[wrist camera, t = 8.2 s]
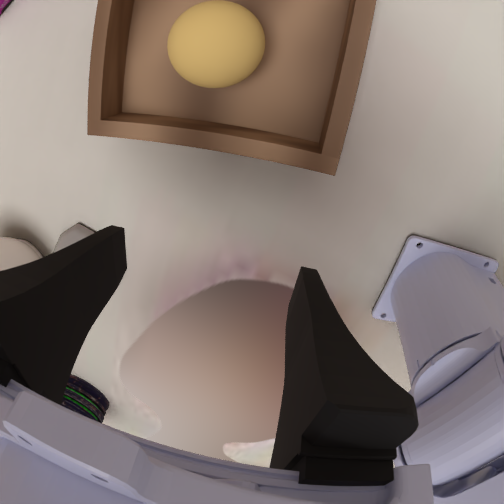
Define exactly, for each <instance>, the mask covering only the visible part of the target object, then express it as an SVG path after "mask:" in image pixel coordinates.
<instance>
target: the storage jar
mask: <svg viewBox="0 0 504 504" xmlns="http://www.w3.org/2000/svg"><path fill="white" fill-rule="evenodd" d="M61 406H63V407H65V408H67V409H70V410H72V411H74V412H76V413H78V414H81V415H83V416H85V417H88V418H90V419H92V420H95V421H97V422H100V423H102V422H103V420H104V416H105V413H106V412H105V411H106V410H107V409H108V407H109V402H108V400H107V398H106V397H105V396H104V395H103V394H102V393H101V392H100V391H99V390H98V389H96V388H95V387H94V386H92V385H91V384H89V383H88V382H86V381H85V380H83V379H81V378H79V377H77V376H74V375H72V374H70V377H69V380H68V383H67V386H66V389H65V393H64V396H63V400H62V404H61Z"/></svg>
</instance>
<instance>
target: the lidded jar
mask: <svg viewBox="0 0 504 504" xmlns="http://www.w3.org/2000/svg"><path fill="white" fill-rule="evenodd" d="M40 258H43V256H42V255H41V253H40V252H39V251H38V250H37V248H35V247H34V246H33V245H32V244H31V243H29V242H28V241H26V240H23V239H15V238H10V237H0V271H2V270H6V269H10V268H13V267H17V266H20V265H23V264H27V263H30V262H32V261H35V260H38V259H40Z"/></svg>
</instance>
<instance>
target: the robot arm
mask: <svg viewBox="0 0 504 504" xmlns="http://www.w3.org/2000/svg"><path fill="white" fill-rule="evenodd" d="M419 242H421V244H420V245H419V246H417V244H418V243H419ZM486 262H487V263H486ZM485 263H486V264H485ZM498 266H499V264H498V262H497V260H495V259H492V258H489V257H485V256H482V255H479V254H476V253H473V252H469V251H466V250H463V249H460V248H456V247H453V246H450V245H446V244H443V243H439V242H436V241H433V240H429V239H426V238H422V237H418V236H410V237H409V238H408V239H407V241H406V243H405V245H404V248H403V250H402V252H401V254H400V256H399V259H398V261H397V263H396V265H395V267H394V269H393V271H392V273H391V275H390V277H389V279H388V281H387V283H386V285H385V287H384V289H383V291H382V293H381V295H380V297H379V299H378V301H377V303H376V305H375V307H374V309H373V310H372V316H373V317H374V318H376V319H381V320H387V321H393V322H396V323H397V327H398V331H399V335H400V339H401V343H402V347H403V351H404V356H405V360H406V365H407V369H408V374H409V379H410V384H411V390H410V391H409V392H407V391H405V390H404V389H403V388H402V387H400V386H399V385H398V384H397V383H396V382H394V381H393V380H392V379H391V378H390V377H389V376H388V375H387V374H386V373H385V372H384V371H383V370H382V369H381V368H380V367H379V366H378V365H377V364H376V363H375V362H374V361H373V360H372V359H371V358H370V357H369V356H368V354H367V353H366V352H365V351H364V350H363V349H362V347H361V346H360V345H359V344H358V342H357V341H356V339H355V338H354V337H353V335H352V334H351V333H350V331H349V330H348V328H347V327H346V325H345V324H344V322H343V320H342V319H341V317H340V315H339V313H338V312H337V310H336V308H335V306H334V304H333V302H332V300H331V299H330V297H329V295H328V293H327V290H326V288H325V286H324V284H323V282H322V280H321V277H320V275H319V273H318V271H317V270H315V269H311V268H306V267H301V269H300V272H299V275H298V278H297V281H296V284H295V288H294V291H293V294H292V297H291V300H290V303H289V307H288V315H287V321H286V337H285V338H286V339H285V340H286V341H285V342H286V343H285V379H284V390H283V396H282V404H281V409H280V417H279V422H278V428H277V433H276V438H275V444H274V449H273V454H272V458H271V463H270V468H267V467H260V466H254V465H248V464H242V463H236V462H231V461H226V460H221V459H216V458H212V457H207V456H203V455H199V454H195V453H191V452H187V451H183V450H179V449H176V448H172V447H169V446H166V445H162V444H159V443H155V442H152V441H149V440H146V439H143V438H140V437H137V436H134V435H131V434H129V433H126V432H123V431H120V430H118V429H115V428H112V427H110V426H107V425H105V424H102V423H100V422H97V421H95V420H92V419H90V418H88V417H85V416H83V415H81V414H78V413H76V412H74V411H72V410H70V409H67V408H65V407H63V406H61V404H62V400H63V396H64V393H65V389H66V386H67V383H68V380H69V377H70V374H71V371H72V369H73V366H74V363H75V361H76V359H77V356H78V354H79V351H80V349H81V347H82V345H83V343H84V340H85V338H86V336H87V334H88V332H89V330H90V329H91V327H92V325H93V324H94V322H95V321H96V319H97V318H98V316H99V314H100V313H101V311H102V310H103V308H104V307H105V305H106V304H107V302H108V301H109V299H110V298H111V296H112V295H113V293H114V292H115V290H116V289H117V287H118V285H119V283H120V282H121V280H122V278H123V275H124V273H125V271H126V269H127V261H126V248H125V233H124V228H122V227H117V226H113V225H111V226H109V227H106V228H104V229H102V230H99V231H97V232H95V233H93V234H91V235H89V236H87V237H85V238H83V239H81V240H79V241H77V242H75V243H73V244H71V245H69V246H67V247H65V248H63V249H61V250H59V251H57V252H54V253H52V254H50V255H48V256H45V257H43V258H40V259H38V260H35V261H32V262H30V263H27V264H23V265H20V266H17V267H13V268H10V269H6V270H2V271H0V504H504V287H503V286H502V284H501V283H500V281H499V280H498V278H497V277H496V275H495V272H496V270H497V268H498ZM383 313H385V314H383ZM381 314H383V315H381ZM393 462H394V465H395V468H393ZM490 462H491V463H490Z"/></svg>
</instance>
